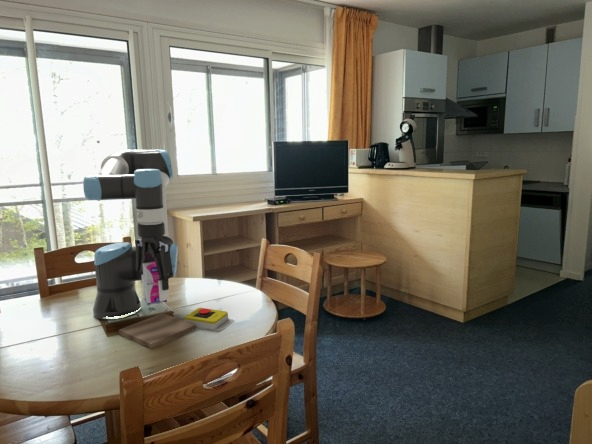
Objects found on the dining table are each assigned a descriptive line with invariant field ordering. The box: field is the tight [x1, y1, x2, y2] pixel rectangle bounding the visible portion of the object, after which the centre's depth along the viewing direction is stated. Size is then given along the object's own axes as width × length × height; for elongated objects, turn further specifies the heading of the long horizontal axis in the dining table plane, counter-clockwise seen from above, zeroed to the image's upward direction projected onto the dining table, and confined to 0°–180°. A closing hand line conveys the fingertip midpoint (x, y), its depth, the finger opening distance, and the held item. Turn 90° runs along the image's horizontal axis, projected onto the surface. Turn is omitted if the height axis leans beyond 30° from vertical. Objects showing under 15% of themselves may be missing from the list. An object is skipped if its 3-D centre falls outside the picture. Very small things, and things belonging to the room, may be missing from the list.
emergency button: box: [184, 307, 235, 332], centre depth 138 cm, size 9×4×15 cm
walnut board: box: [118, 313, 197, 350], centre depth 131 cm, size 16×16×2 cm
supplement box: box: [143, 262, 168, 306], centre depth 129 cm, size 6×6×12 cm
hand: (155, 297), depth 129 cm, fingers closed on supplement box, 7 cm apart
